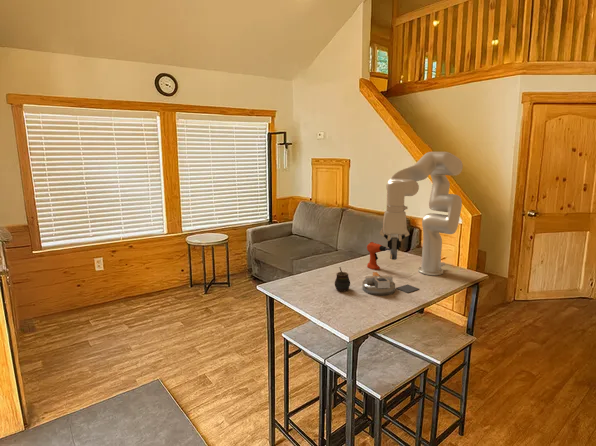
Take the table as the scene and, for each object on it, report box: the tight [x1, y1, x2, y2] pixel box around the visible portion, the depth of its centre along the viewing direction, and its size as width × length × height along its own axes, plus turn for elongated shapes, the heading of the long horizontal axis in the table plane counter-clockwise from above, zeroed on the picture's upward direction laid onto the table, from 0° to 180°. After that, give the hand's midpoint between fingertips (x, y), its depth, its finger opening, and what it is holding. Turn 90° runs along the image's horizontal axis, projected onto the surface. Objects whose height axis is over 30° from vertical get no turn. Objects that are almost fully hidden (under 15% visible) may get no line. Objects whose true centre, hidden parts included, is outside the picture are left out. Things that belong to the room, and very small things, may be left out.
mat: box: [395, 284, 420, 294], centre depth 176 cm, size 8×7×1 cm
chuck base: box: [361, 279, 396, 297], centre depth 176 cm, size 15×15×3 cm
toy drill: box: [366, 241, 391, 271], centre depth 202 cm, size 5×19×15 cm, turn 33°
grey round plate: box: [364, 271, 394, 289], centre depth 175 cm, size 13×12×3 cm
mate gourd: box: [334, 266, 351, 292], centre depth 176 cm, size 7×8×10 cm
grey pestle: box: [389, 236, 398, 261], centre depth 170 cm, size 3×3×10 cm
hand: (393, 248), depth 170 cm, fingers closed on grey pestle, 3 cm apart
